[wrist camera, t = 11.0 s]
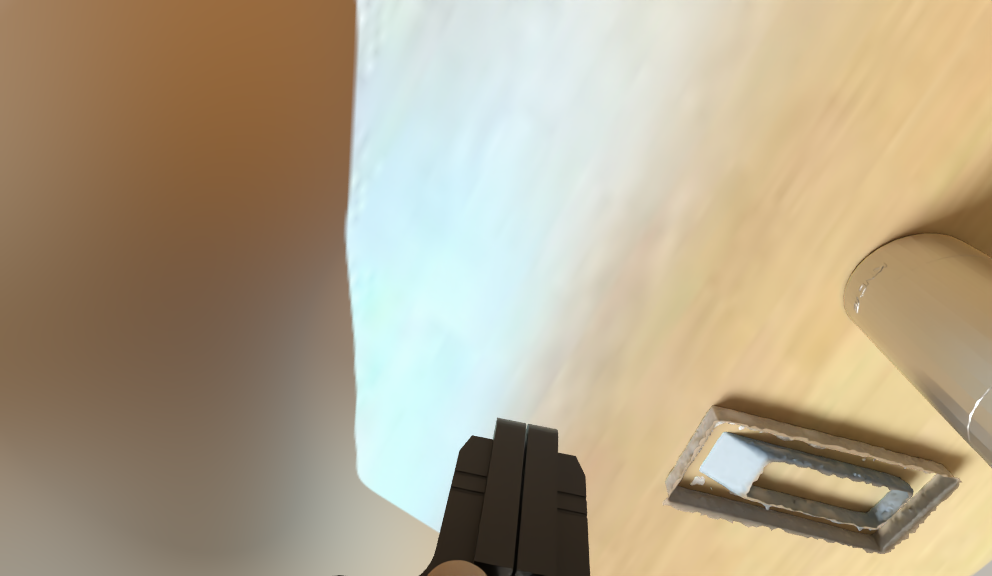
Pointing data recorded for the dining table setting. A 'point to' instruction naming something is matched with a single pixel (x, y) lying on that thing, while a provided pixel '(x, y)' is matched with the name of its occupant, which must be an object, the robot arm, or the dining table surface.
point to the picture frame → (742, 465)
